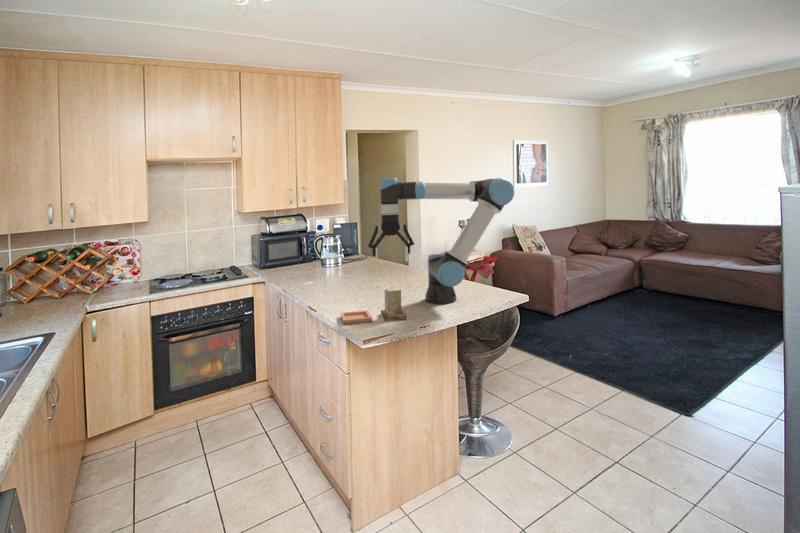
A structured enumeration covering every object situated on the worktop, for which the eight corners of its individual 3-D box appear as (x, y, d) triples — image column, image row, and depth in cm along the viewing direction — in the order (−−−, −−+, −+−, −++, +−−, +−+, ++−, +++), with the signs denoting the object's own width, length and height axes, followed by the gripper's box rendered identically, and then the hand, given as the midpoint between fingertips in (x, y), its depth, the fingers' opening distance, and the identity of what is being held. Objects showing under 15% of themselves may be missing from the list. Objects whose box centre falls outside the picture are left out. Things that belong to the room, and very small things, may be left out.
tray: (368, 314, 192) (368, 310, 191) (372, 322, 180) (372, 317, 180) (341, 317, 189) (340, 312, 189) (343, 325, 178) (343, 320, 177)
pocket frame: (400, 312, 193) (400, 308, 193) (406, 319, 183) (406, 315, 182) (381, 314, 191) (380, 310, 191) (385, 321, 181) (385, 317, 180)
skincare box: (388, 319, 184) (387, 291, 182) (384, 316, 188) (383, 289, 186) (402, 317, 186) (401, 289, 184) (398, 314, 190) (397, 287, 188)
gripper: (415, 212, 194) (417, 259, 198) (360, 214, 189) (362, 262, 193) (419, 213, 187) (421, 261, 191) (362, 215, 182) (364, 265, 186)
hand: (391, 262), depth 192 cm, fingers open, 13 cm apart
